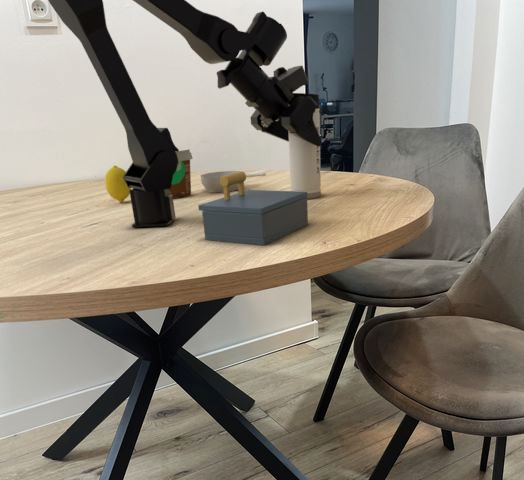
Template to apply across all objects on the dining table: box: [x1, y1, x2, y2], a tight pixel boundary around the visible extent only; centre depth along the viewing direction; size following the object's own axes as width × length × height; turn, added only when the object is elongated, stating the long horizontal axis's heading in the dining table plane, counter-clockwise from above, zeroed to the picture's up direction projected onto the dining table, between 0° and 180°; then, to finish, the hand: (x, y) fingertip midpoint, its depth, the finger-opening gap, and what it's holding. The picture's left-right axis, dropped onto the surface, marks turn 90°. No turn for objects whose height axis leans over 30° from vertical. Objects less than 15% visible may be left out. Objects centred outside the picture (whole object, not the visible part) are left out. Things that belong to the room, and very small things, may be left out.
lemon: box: [104, 165, 132, 203], centre depth 115 cm, size 6×6×8 cm
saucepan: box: [199, 170, 267, 193], centre depth 122 cm, size 11×18×4 cm, turn 54°
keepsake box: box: [201, 197, 309, 246], centre depth 81 cm, size 11×14×4 cm
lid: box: [197, 171, 307, 214], centre depth 79 cm, size 11×14×4 cm
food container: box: [169, 149, 193, 200], centre depth 116 cm, size 12×6×10 cm, turn 76°
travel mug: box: [288, 92, 322, 200], centre depth 103 cm, size 6×7×20 cm
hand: (308, 143), depth 104 cm, fingers open, 9 cm apart
